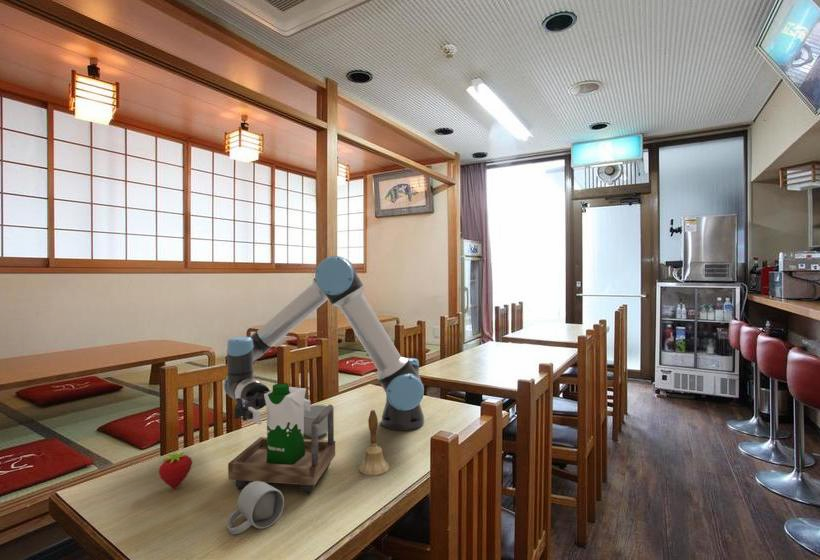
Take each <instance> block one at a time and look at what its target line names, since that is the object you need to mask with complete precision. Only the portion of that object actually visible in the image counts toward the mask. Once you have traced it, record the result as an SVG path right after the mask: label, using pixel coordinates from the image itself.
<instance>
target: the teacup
mask: <svg viewBox="0 0 820 560" xmlns="http://www.w3.org/2000/svg"><path fill="white" fill-rule="evenodd" d="M327 406H328V405H325V404H311V411H306V410H304V436H306V437H310V438H311V424H312V421H313V420H314V419H315V418H316V417H317V416H318V415H319V414H320V413H321V412H322V411H323V410H324V409H325V408H326V407H327ZM327 433H328V415H327V416H326V417H325V418H324V419H323V420H322V421H321V422H320V424H319V425H318V438H320V437H322V436H325V434H327Z"/></svg>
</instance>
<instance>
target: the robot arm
mask: <svg viewBox="0 0 820 560" xmlns="http://www.w3.org/2000/svg"><path fill="white" fill-rule="evenodd" d="M364 288H365V286H364V284H363V283H362V280H361V279H360V277H359V276H358V274H357V272H356V268H355V266H354V265H353V263H352V262H351V261H349V260H348V259H346V258H344V257H342V256H338V255H336V256H335V255H334V256H333V255H332V256H329V257H326V258H324V259H323V260H322V261H320V262H319V264H318V265H317V267H316V270H315V272H314V278H313V279H312V284H310V285H309V286H308V287H307V288H306V289H305V290H303V291H302V292H301V293H300V294H299V295H297V297H295V298H294V300H292V301H290V303H288V304H287V305H286V306H284V307H283V308H282V309H281V310H280V311H279V312H278V313H277V314H275V315H273V317H272V318H271V319H269V320H268V321H267V322H266V323H264V324H263V326H261V327H260V328H259V329H258V330H257V331H255V332H254V333H253V334H251V335H250V336H235V337H231V338H229V339H228V340H227V344H226V345H227V348H226V354H227V355H226V357H227V358H226V361H227V362H226V364H227V376H226V377H225V380H224V382H223V390H224V392H225V394H227V396H229V397H230V398H231V399H233V400H235V407H234V409H233V410H234V418H233V419H235V420H238V419H239V418H242V421H243V422H245V421H246V422H247V421H248V420H250V421H252V422H253V423H255V424H257V425H262V412H260V411H259V410H261V409H263V408H264V407H266V402H265V397H264V394H265V393H267V392H270V391H271V390H270V389H269V387H268V386H267V385H266V384H264V383H261V382H260V381H258V380H255V379H254V362H255V361H256V360H258V359H260V358H261V357H263V356H264V355H265V354H266V353H267V352H268V351H269V350H270V349H271V348H272V347H274V346H275V345H276V344H277V343H278V342H279V341H281V340H282V339H283V338H284V337H285V336H287V335H288V334H289V333H290V332H291V331H293V329H295V328H296V327H297V326H298V325H300V324H301V323H302V322H303V321H304V320H305V319H306V318H308V317H309V316H310V315H312V314H313V313H314V312H315V311H316V310H318V308H319V307H321V306H322V305H324V303H326V301H329V302H330V304H331V305H332V306H334V307H337V308H339V309H340V310H341V312H342V314H343V316H344V317H345V320H346V321H347V322H348V324H349V325H350V327H351V329H352V330H353V332H354V334H355V335H356V337H357V338H358V340H359V342H360V343H361V345H362V346H363V349H364V350H365V352H366V353H367V355H368V357H369V358H370V360H371V361H372V363H373V365H374V367H375V368H376V369H377V377H376V378H377V381H378V382H379V384H380V385H381V387H382V388H383V390H384V391H385V395H386V397H385V398H386V401H385V405H384V408H383V410H382V411H383V412H382V415H381V426H383V427H384V428H386V429H389V430H391V431H392V430H394V431H401V432H402V431H405V432H406V431H411V430H417V429H419V428H421V427H423V425H424V424H425V417H424V416H425V415H424V412H423V409H422V406H421V404H420V403H421V402H422V400H423V398H424V395H425V394H424V393H425V386H424V383H423V382H422V379H421V376H420V361H419V359H417V358H413V357H405V356H401V354H400V352H399V351H398V349H397V348H396V345H394V343H393V341H392V338H391V337H390V336H389V334H388V333H387V331H386V329H385V328H384V326H383V324H382V323H381V321H380V319H379V318H378V316H377V315H376V313H375V311H374V309H373V308H372V306H371V305H370V302H368V300H367V298H366V296H365V295H364ZM311 405H312V404H311V400H309V399H307V393H305V399H304V410H306V411H311Z"/></svg>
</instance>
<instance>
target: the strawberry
mask: <svg viewBox="0 0 820 560" xmlns="http://www.w3.org/2000/svg"><path fill="white" fill-rule="evenodd" d="M176 451H177V449H175V450H174V451H173V453H175V452H176ZM184 453H185V451H184V452H181V453H177V452H176V453H175V454H168V457H166V458H164V459H163V460H162V461H163V462H162V463H161V465H160V466H159V470H158V474H159V476H160V479H161V480H162V481H163V482H164V483H165V484H166V485H168V486H169V487H170V488H172V489H177V488H179V487H180V485H181V484H182V482H183V481H185V479H186V477H187V476H188V474H189V473H190V471H191V469H192V464H193V461H192V458H191V457H190V456H188V455H187V454H184Z"/></svg>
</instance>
